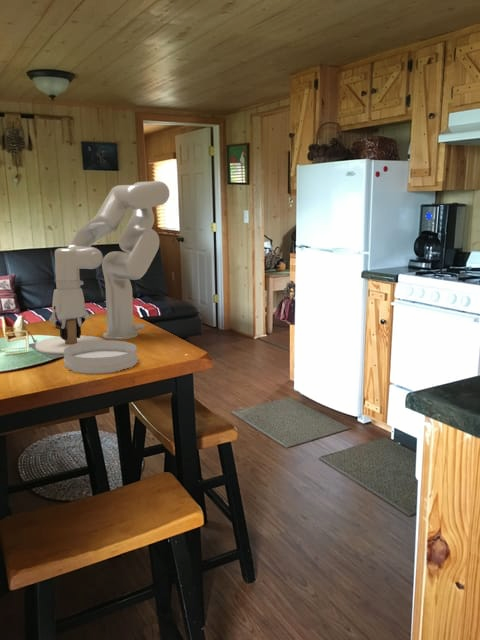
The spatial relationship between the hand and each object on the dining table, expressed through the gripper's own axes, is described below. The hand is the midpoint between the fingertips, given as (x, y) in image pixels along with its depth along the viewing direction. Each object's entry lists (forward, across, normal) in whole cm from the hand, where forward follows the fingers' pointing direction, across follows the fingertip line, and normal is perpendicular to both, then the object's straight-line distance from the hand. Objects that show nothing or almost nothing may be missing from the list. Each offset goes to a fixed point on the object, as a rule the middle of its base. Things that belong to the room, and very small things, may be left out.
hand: (70, 337), depth 186 cm
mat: (+3, 0, 0) cm, 3 cm away
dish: (+4, +1, +24) cm, 24 cm away
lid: (+3, 0, 0) cm, 3 cm away
